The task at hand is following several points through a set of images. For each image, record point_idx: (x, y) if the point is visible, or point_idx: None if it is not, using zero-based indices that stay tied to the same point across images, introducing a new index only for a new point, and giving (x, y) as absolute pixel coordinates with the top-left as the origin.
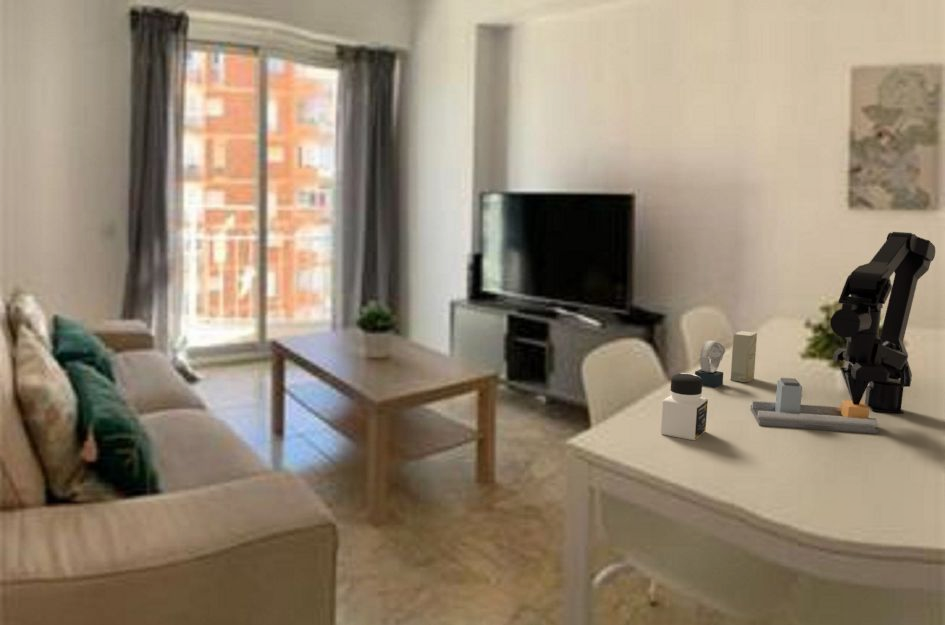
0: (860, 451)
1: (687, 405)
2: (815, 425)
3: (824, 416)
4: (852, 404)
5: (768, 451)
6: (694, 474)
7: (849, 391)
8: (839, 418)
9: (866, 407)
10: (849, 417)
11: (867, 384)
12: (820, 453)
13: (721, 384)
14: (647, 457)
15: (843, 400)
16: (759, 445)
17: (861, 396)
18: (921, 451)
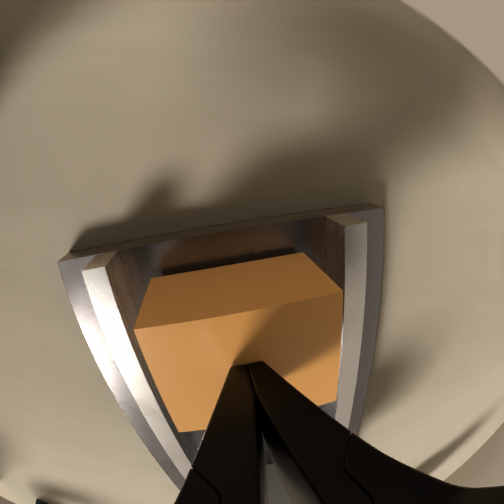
0: (499, 281)
1: None
2: (360, 416)
3: (348, 425)
4: None
5: (468, 414)
6: (495, 425)
7: (267, 482)
8: (352, 384)
9: (334, 311)
10: (352, 355)
11: (430, 480)
12: (493, 353)
13: (41, 501)
14: (453, 467)
15: (184, 428)
16: (445, 432)
17: (309, 403)
18: (487, 103)
